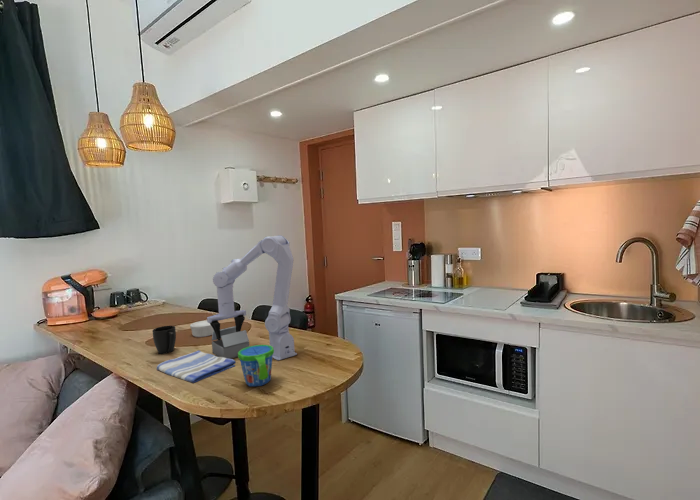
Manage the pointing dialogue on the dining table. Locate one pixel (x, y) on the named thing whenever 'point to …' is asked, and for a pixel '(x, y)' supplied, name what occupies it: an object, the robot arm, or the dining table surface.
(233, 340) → the near flap
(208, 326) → the ramekin
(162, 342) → the mug
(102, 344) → the dining table surface
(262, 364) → the snack cup
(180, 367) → the dish towel
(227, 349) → the carton
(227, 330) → the far flap
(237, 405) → the dining table surface
